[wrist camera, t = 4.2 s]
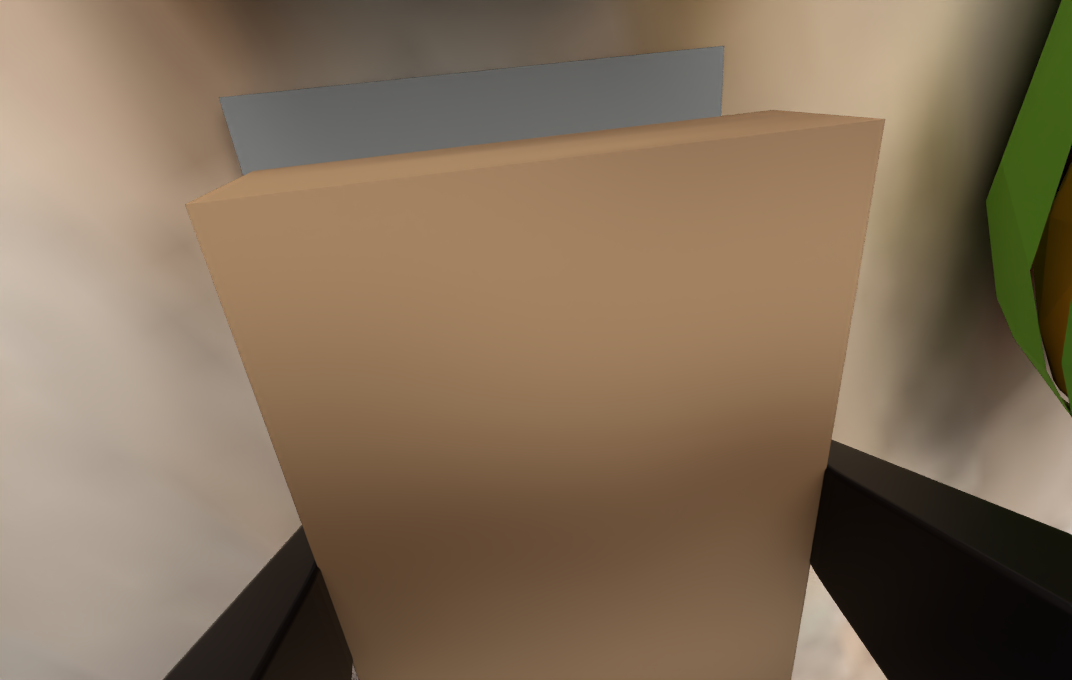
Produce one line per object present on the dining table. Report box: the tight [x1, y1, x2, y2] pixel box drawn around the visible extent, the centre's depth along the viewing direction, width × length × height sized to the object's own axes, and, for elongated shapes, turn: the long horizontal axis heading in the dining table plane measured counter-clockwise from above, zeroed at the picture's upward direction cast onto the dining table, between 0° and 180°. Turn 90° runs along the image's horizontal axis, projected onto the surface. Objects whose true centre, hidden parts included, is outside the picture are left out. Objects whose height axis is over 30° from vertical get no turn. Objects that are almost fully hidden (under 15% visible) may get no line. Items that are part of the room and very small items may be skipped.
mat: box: [219, 46, 724, 176], centre depth 13 cm, size 12×9×1 cm
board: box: [185, 110, 885, 680], centre depth 8 cm, size 10×6×2 cm, turn 5°
